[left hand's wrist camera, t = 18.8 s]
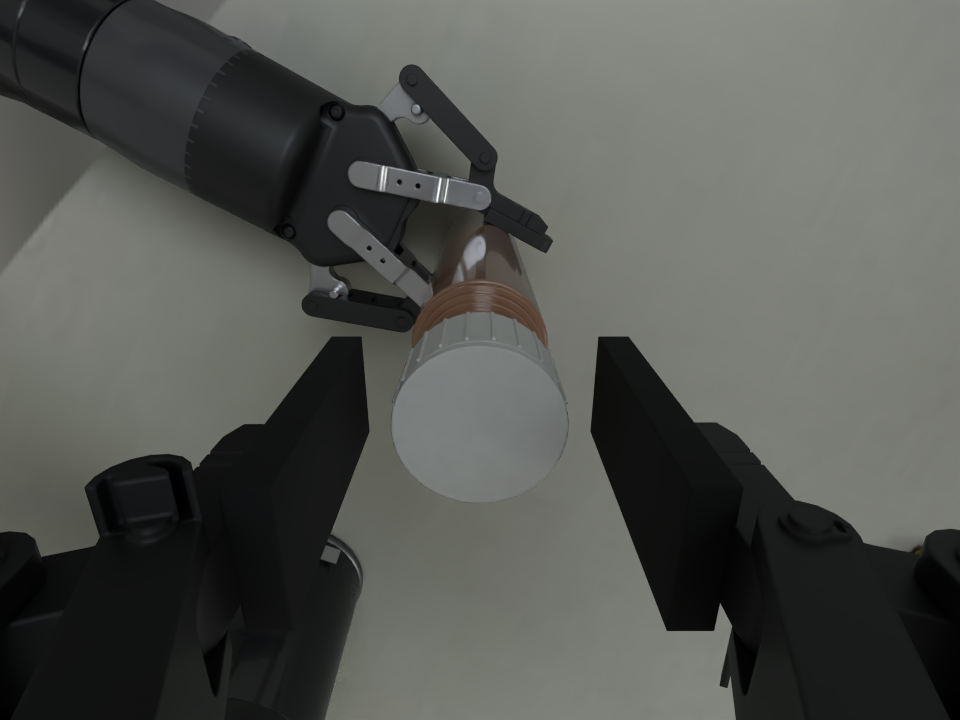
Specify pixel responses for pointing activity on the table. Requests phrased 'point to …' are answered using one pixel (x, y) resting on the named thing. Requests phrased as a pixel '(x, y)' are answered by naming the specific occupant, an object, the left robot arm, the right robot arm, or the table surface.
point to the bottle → (479, 278)
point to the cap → (479, 409)
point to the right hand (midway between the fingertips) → (524, 283)
